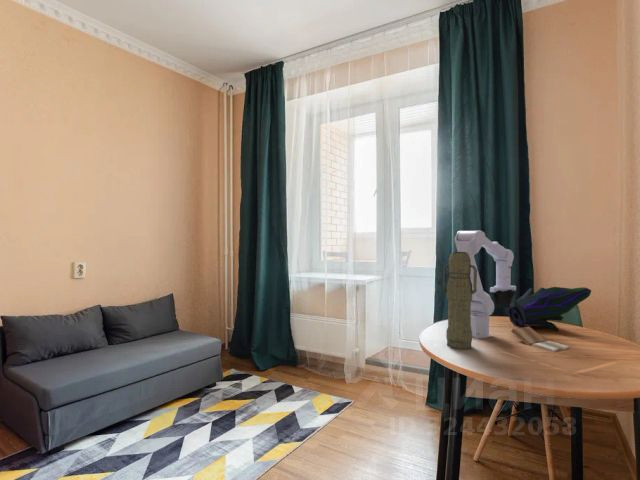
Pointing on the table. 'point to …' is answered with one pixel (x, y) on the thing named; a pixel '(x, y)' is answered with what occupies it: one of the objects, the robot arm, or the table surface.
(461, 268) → the thermos
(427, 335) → the table surface
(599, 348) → the table surface
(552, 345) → the laid board
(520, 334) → the plank
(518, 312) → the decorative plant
